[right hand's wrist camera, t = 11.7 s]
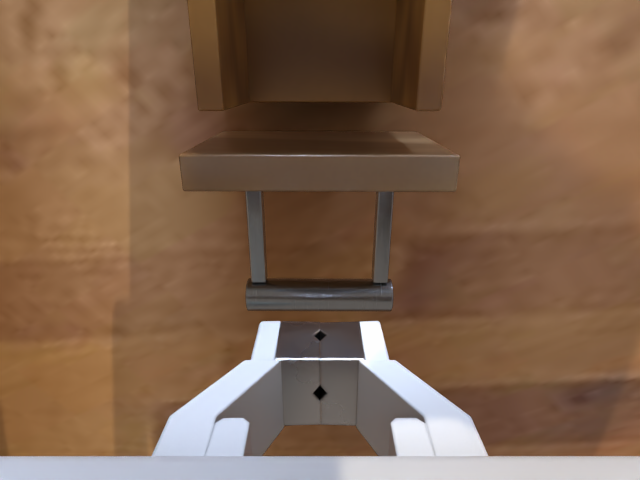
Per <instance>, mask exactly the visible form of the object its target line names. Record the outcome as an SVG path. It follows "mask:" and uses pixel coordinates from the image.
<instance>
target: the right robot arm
mask: <svg viewBox="0 0 640 480" xmlns="http://www.w3.org/2000/svg"><path fill="white" fill-rule="evenodd" d="M317 424H322V425H356V428H357V429H358V430H359V431H360V433H361V434H362V435H363V437H364V438H365V439H366V441H367V442H368V443H369V444H370V446H371V447H372V448H373V450H374V451H375V452H376V454H377V455H378V456H262V455H263V454H264V453H265V451H266V450H267V449H268V447H269V446H270V445H271V443H272V442H273V441H274V440H275V438H276V437H277V436H278V434H279V433H280V432H281V431H282V429H283V428H284V425H317ZM0 480H640V456H488V454H487V452H486V450H485V447H484V445H483V443H482V441H481V438H480V436H479V434H478V432H477V429H476V427H475V425H474V423H473V420H472V418H471V417H470V416H469V415H468V414H466V413H465V412H464V411H462V410H461V409H460V408H458V407H457V406H456V405H454V404H453V403H452V402H450V401H449V400H448V399H446V398H445V397H444V396H442V395H441V394H440V393H438V392H437V391H436V390H434V389H433V388H432V387H430V386H429V385H428V384H426V383H425V382H424V381H422V380H421V379H420V378H418V377H417V376H416V375H414V374H413V373H412V372H410V371H409V370H408V369H406V368H405V367H404V366H402V365H401V364H400V363H398V362H397V361H396V360H389V356H388V352H387V348H386V344H385V340H384V336H383V332H382V329H381V325H380V322H379V321H362V322H326V323H320V322H292V321H282V322H280V321H262V322H261V323H260V324H259V328H258V332H257V336H256V340H255V344H254V348H253V352H252V356H251V360H244V361H243V362H242V363H240V364H239V365H238V366H236V367H235V368H234V369H232V370H231V371H230V372H228V373H227V374H226V375H224V376H223V377H222V378H220V379H219V380H218V381H216V382H215V383H213V384H212V385H211V386H209V387H208V388H207V389H205V390H204V391H203V392H201V393H200V394H199V395H197V396H196V397H195V398H193V399H192V400H191V401H189V402H188V403H187V404H185V405H184V406H183V407H181V408H180V409H179V410H177V411H176V412H175V413H173V414H172V415H171V416H169V419H168V421H167V423H166V425H165V428H164V430H163V432H162V434H161V436H160V439H159V441H158V443H157V445H156V447H155V450H154V452H153V454H152V456H0Z"/></svg>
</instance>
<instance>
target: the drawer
mask: <svg viewBox="0 0 640 480" xmlns="http://www.w3.org/2000/svg"><path fill="white" fill-rule="evenodd" d="M187 4H188V14H189V24H190V34H191V44H192V54H193V64H194V73H195V83H196V93H197V103H198V110H200V111H223V110H226V109H229V108H232V107H235V106H238V105H241V104H245V103H248V102H392V103H395V104H398V105H401V106H404V107H407V108H410V109H413V110H416V111H440V109H441V104H442V95H443V85H444V76H445V66H446V57H447V47H448V37H449V28H450V18H451V9H452V0H187ZM179 161H180V169H181V178H182V186H183V190H184V191H245V194H246V210H247V225H248V240H249V255H250V270H251V278H249V279H248V281H247V285H246V307H247V310H248V311H391V310H392V307H393V285H392V281H391V279H388V272H389V258H390V243H391V229H392V214H393V200H394V192H455V191H456V187H457V179H458V172H459V164H460V156H459V155H458V154H456V153H454V152H452V151H450V150H449V149H447V148H445V147H443V146H442V145H440V144H438V143H436V142H434V141H433V140H431V139H429V138H427V137H425V136H424V135H422V134H420V133H418V132H375V131H223V132H221V133H219V134H217V135H216V136H214V137H212V138H210V139H208V140H206V141H204V142H203V143H201V144H199V145H197V146H195V147H193V148H191V149H190V150H188V151H186V152H184V153H182V154H180V155H179ZM263 191H301V192H376V203H375V222H374V241H373V260H372V279H301V278H267V257H266V236H265V216H264V196H263Z"/></svg>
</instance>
